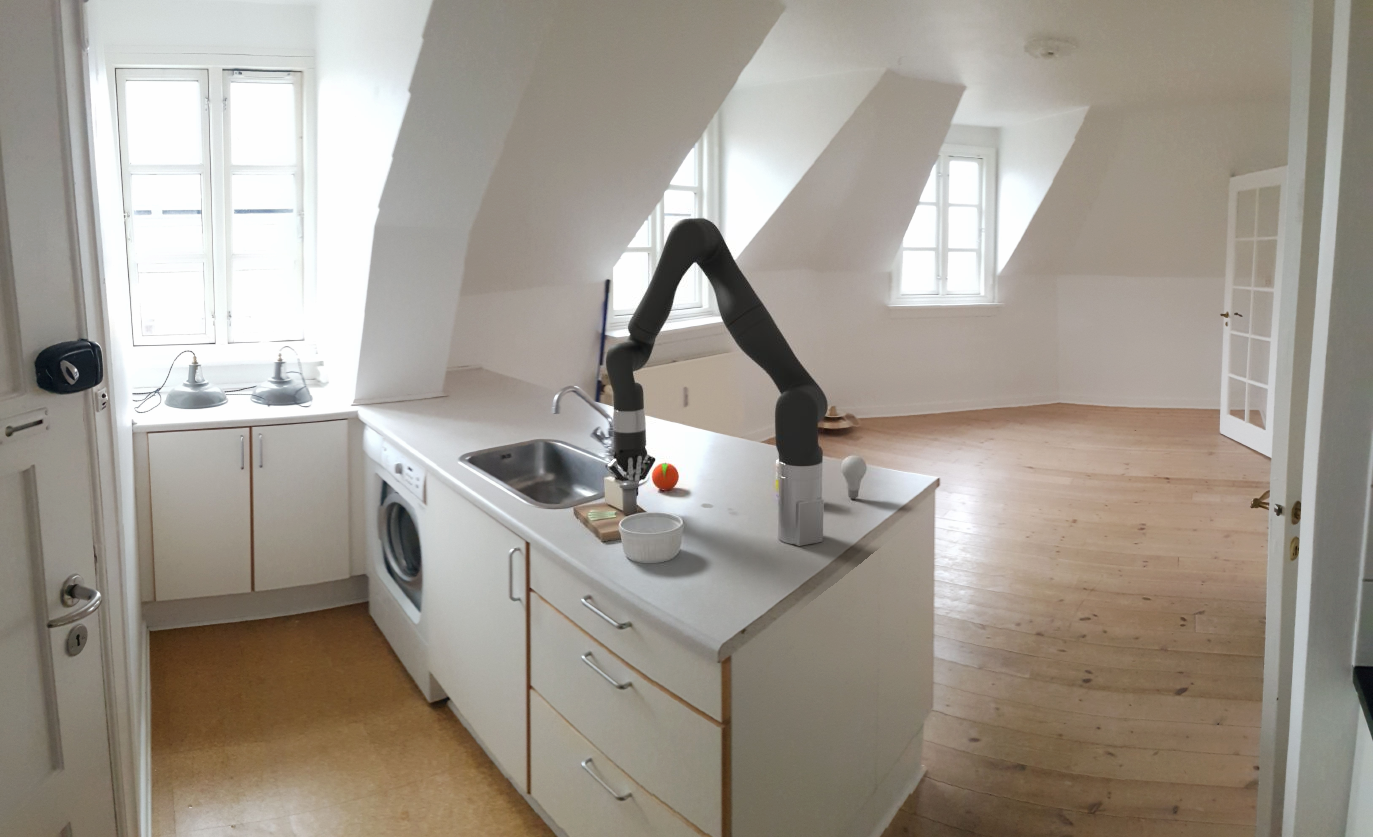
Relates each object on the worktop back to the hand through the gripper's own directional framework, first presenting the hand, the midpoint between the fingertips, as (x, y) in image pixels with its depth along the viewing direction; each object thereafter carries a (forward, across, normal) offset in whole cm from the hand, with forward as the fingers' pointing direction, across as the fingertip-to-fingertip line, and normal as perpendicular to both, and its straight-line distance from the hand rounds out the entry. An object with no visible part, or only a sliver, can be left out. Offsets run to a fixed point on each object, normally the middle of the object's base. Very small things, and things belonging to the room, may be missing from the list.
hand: (632, 498), depth 205 cm
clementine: (+4, +16, +9) cm, 18 cm away
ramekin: (+3, -11, -26) cm, 28 cm away
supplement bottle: (+4, +35, -16) cm, 39 cm away
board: (+3, -7, -5) cm, 9 cm away
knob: (+1, -5, -3) cm, 5 cm away
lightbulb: (+4, +48, -25) cm, 54 cm away
